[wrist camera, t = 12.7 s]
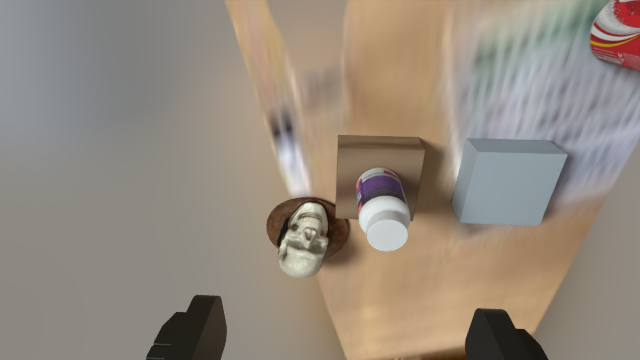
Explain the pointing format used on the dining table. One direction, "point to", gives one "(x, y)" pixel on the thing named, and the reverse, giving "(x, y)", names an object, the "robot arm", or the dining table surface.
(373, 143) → the walnut block
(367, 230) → the pill bottle
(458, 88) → the dining table surface
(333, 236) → the skull
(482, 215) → the slate block
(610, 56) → the soda can
